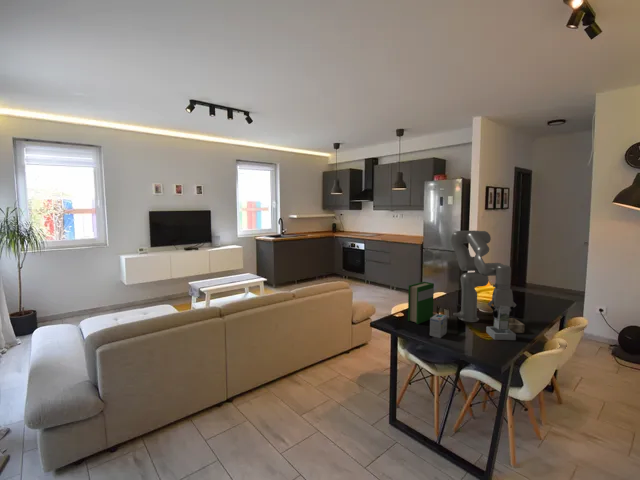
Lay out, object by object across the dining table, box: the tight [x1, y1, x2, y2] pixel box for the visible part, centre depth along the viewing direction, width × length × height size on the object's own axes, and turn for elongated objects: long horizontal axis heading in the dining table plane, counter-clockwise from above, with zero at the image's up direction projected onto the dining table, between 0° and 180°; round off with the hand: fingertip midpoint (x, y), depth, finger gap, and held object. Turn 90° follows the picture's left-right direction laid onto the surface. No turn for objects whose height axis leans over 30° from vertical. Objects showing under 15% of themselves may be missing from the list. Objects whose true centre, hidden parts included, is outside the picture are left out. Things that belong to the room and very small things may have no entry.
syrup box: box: [493, 306, 511, 330], centre depth 192 cm, size 6×6×14 cm
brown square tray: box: [508, 317, 526, 334], centre depth 204 cm, size 11×11×5 cm
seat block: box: [485, 326, 517, 341], centre depth 193 cm, size 11×11×4 cm
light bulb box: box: [429, 313, 448, 339], centre depth 197 cm, size 11×7×11 cm, turn 141°
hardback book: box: [407, 281, 435, 325], centre depth 221 cm, size 18×7×24 cm, turn 130°
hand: (501, 317), depth 192 cm, fingers closed on syrup box, 6 cm apart
